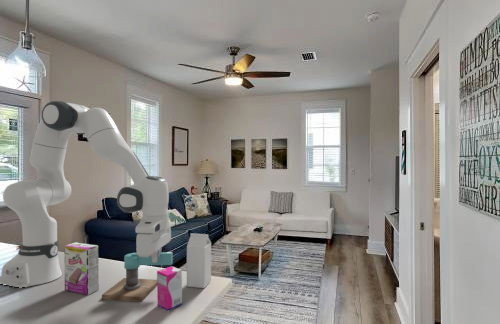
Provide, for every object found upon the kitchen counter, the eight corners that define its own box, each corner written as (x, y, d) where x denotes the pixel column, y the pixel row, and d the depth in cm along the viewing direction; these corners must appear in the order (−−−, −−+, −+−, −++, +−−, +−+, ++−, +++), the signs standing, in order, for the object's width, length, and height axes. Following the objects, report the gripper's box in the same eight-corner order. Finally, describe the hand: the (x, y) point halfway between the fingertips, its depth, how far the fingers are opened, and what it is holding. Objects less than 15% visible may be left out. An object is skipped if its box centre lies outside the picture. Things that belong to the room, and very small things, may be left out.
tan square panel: (101, 299, 100) (101, 273, 100) (123, 281, 114) (124, 259, 114) (141, 301, 98) (141, 275, 98) (159, 283, 112) (159, 260, 112)
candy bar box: (63, 291, 105) (63, 245, 105) (75, 285, 110) (75, 241, 110) (87, 296, 102) (87, 248, 102) (99, 290, 107) (99, 244, 106)
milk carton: (204, 288, 108) (205, 237, 108) (186, 286, 110) (186, 235, 110) (211, 280, 115) (211, 232, 115) (193, 279, 117) (194, 231, 117)
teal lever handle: (122, 269, 103) (122, 255, 103) (127, 264, 108) (127, 250, 108) (170, 268, 104) (170, 254, 104) (173, 263, 110) (173, 250, 109)
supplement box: (171, 299, 100) (171, 265, 100) (182, 304, 97) (182, 269, 96) (156, 305, 96) (156, 270, 96) (167, 311, 92) (167, 275, 92)
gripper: (159, 216, 115) (159, 252, 115) (132, 228, 95) (132, 272, 95) (175, 216, 114) (175, 252, 114) (151, 229, 94) (151, 273, 94)
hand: (155, 261), depth 104 cm, fingers closed
